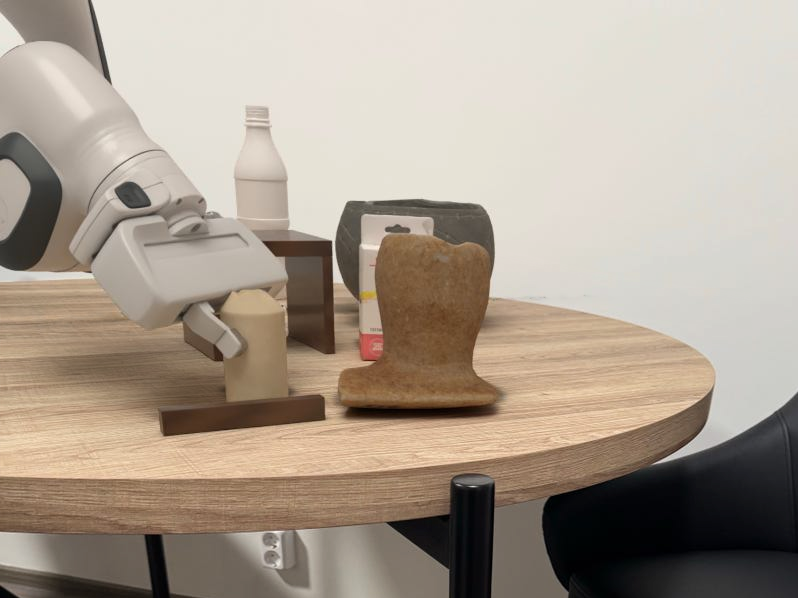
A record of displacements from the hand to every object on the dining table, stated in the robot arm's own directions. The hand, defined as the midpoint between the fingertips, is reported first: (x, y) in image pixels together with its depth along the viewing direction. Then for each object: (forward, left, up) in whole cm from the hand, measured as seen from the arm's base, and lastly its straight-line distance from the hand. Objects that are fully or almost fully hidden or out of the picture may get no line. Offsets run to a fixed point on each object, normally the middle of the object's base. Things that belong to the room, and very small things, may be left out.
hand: (260, 346), depth 83 cm
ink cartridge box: (+22, +16, -6) cm, 28 cm away
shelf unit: (+9, +26, -5) cm, 28 cm away
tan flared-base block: (+14, -4, -6) cm, 15 cm away
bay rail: (-3, -5, -5) cm, 8 cm away
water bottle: (+20, +54, -6) cm, 58 cm away
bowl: (+34, +35, -6) cm, 49 cm away
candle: (0, 0, -6) cm, 6 cm away
